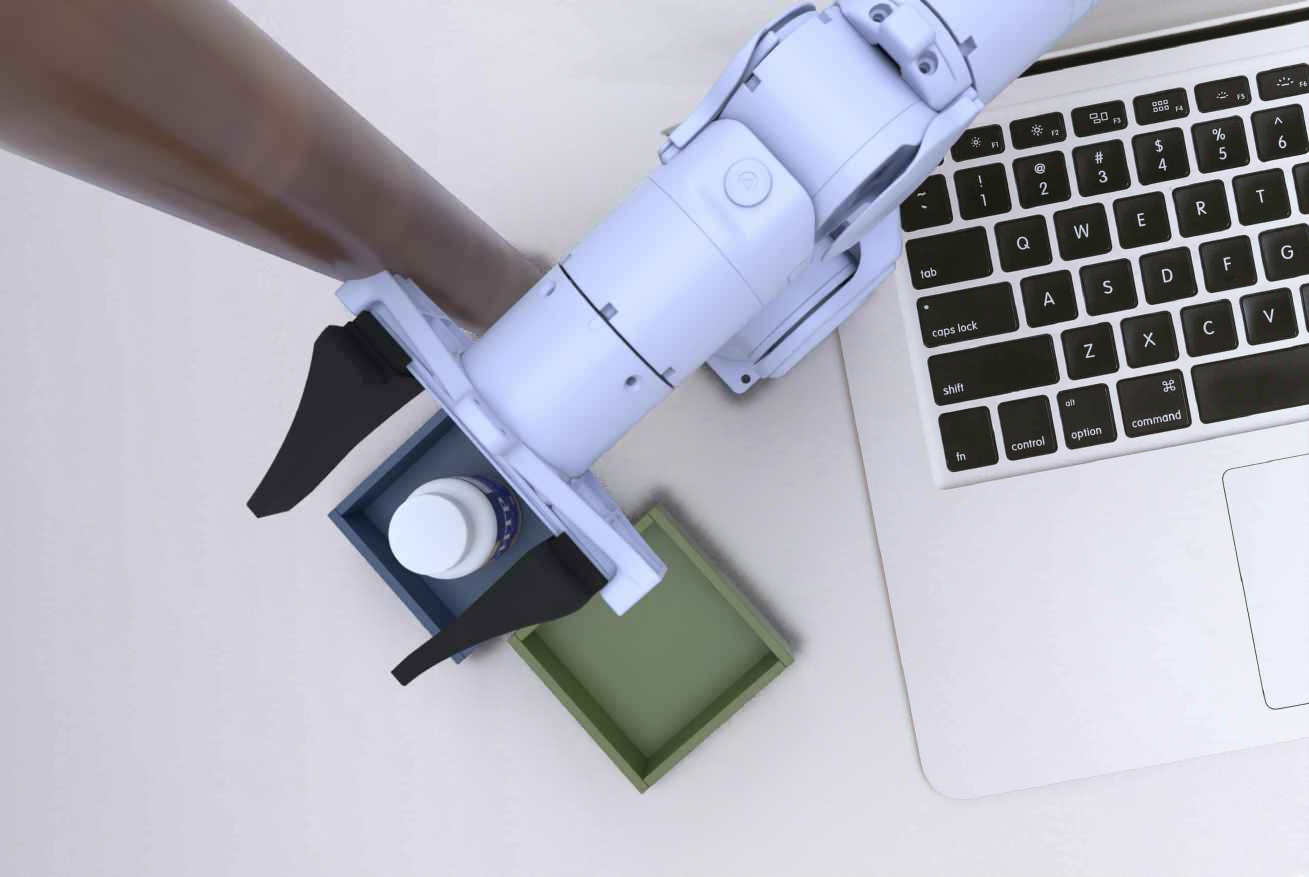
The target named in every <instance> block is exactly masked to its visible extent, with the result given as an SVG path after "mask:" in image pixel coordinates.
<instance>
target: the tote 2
mask: <svg viewBox="0 0 1309 877" xmlns="http://www.w3.org/2000/svg"><path fill="white" fill-rule="evenodd" d="M632 526H633V527H634V528H635V529H636V531H637V532H638V533H639V534H640V536H641V537H642V538H643V540H644V541H645V542H646V543H647V544H648V546H649V547H650V548H651V549H652V550H653V552H654V553H655V554H656V555H657V556H658V557H659V558H660V560H661V561H662V562H663V563H664V564H665V565H666V566H667V571H666V573H665V575H664V577H663V578H662V580H661V581H660V582H659V583H658V584H657V585H656V586H655V587H654V588H652V589H651V590H650V591H649V592H648V593H647V594H646V595H644V596H643V597H642V598H641V599H640V600H639V601H638V602H636V603H635V604H634V605H633V606H632V607H631V608H630V609H629V610H627V611H626V612H625V613H624V614H623V615H622V616H618V615H617V614H616V613H615V612H614V610H613V609H612V608H611V607H610V606H609V605H608V604H607V603H606V601H605V600H604V599H603V598H602V597H601V595H600V590H599V591H598V592H597V593H596V594H595V595H594V596H593V597H592V598H591V599H590V600H589V601H588V603H587V604H585V605H584V606H583V607H582V608H581V609H580V610H578V611H577V612H575V613H572V614H570V615H567V616H565V617H562V618H559V619H557V620H554V621H549V622H545V623H540V624H536V625H533V626H529V627H525V628H522V629H518V630H515V631H514V632H513V634H512V635H511V636H510V637H508V638H507V640H506V642H507V643H508V644H509V646H510V647H511V648H512V649H513V650H514V651H515V652H516V653H517V655H518V656H519V658H521V659H522V660H523V661H524V662H525V664H526V665H527V666H528V667H529V668H530V669H531V671H532V672H533V673H534V674H535V675H536V676H537V677H538V678H539V680H540V681H541V682H542V683H543V684H544V685H545V686H546V688H547V689H548V690H549V691H550V692H551V693H552V694H553V695H554V696H555V698H556V699H557V700H558V701H559V703H561V705H562V706H563V707H564V708H565V709H566V710H567V711H568V713H569V714H570V715H571V716H572V717H573V718H574V719H575V720H576V722H577V723H578V724H579V725H580V726H581V727H582V729H583V730H584V731H585V732H586V734H588V735H589V736H590V738H591V739H592V741H594V742H595V743H596V744H597V745H598V747H599V748H600V749H601V750H602V751H603V752H604V754H605V755H606V756H607V757H608V758H609V760H611V762H612V763H613V764H614V765H615V766H616V767H617V769H619V771H620V772H621V774H623V776H625V778H626V779H627V780H628V781H629V782H630V783H631V784H632V786H634V788H635V789H636V790H637V791H638V793H639V794H641V795H643V794H645V793H646V792H647V791H648V790H649V789H650V788H651V787H652V786H654V785H655V784H656V783H657V782H658V781H659V780H660V779H662V778H663V777H664V776H665V775H666V774H667V773H669V772H670V770H672V769H673V768H674V767H675V766H677V765H678V764H679V763H680V762H681V761H682V760H684V759H685V758H686V757H687V756H688V755H689V754H691V753H692V752H693V751H694V750H695V749H696V748H698V747H699V746H700V745H701V744H702V743H703V742H705V740H706V739H707V738H708V737H710V736H711V735H712V734H713V733H714V732H716V731H717V730H718V729H719V728H721V726H722V725H724V724H725V723H726V722H727V721H728V720H729V719H731V717H733V716H734V715H735V714H737V712H739V711H740V709H742V708H743V707H744V706H745V705H746V704H748V703H749V702H750V701H751V700H752V699H753V698H754V697H756V696H757V695H758V694H759V693H760V692H762V690H763V689H765V688H766V687H767V686H768V685H769V684H770V683H772V682H773V681H774V680H775V679H776V678H777V677H778V676H780V675H781V674H782V673H783V672H784V671H786V669H787V668H789V667H790V666H791V665H792V664H793V663H794V662H795V658H794V657H795V656H794V654H793V650H792V646H791V644H790V643H789V642H788V641H787V639H785V637H784V636H783V635H782V634H781V633H780V632H779V631H778V630H777V628H776V627H775V626H774V625H773V624H772V622H770V620H769V619H768V618H767V617H766V616H765V615H764V614H763V613H762V611H760V609H759V608H758V607H757V606H756V605H755V604H754V603H753V602H752V601H751V600H750V598H749V597H748V596H747V595H746V594H745V593H744V592H743V591H742V590H741V588H739V586H738V585H737V584H736V582H734V581H733V579H731V577H730V576H729V575H728V574H727V572H725V571H724V570H723V568H722V567H721V566H720V565H719V564H718V563H717V562H716V561H715V560H714V559H713V557H712V556H711V554H709V553H708V552H707V550H705V548H704V547H703V546H702V545H701V544H700V543H699V541H697V539H696V538H695V537H694V536H693V535H692V534H691V533H690V532H689V531H688V530H687V529H686V527H685V526H684V525H683V524H682V523H681V522H680V521H679V519H677V517H676V515H674V514H673V513H672V511H670V510H669V508H668V507H667V506H666V505H665V504H664V503H663V502H662V501H658V502H657V503H656V504H655V505H654V506H652V508H651V509H649V511H647V512H646V513H645V514H644V515H643V516H642V517H641V518H639V519H638V520H637V521H636V522H635V523H634V524H632Z"/></svg>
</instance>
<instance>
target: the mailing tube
mask: <svg viewBox="0 0 1309 877" xmlns="http://www.w3.org/2000/svg"><path fill="white" fill-rule="evenodd" d="M0 150H2V151H5V152H8V153H10V154H12V155H15V156H18V157H20V158H22V159H25V160H28V161H31V162H33V163H36V164H38V165H40V166H43V167H46V168H48V169H51V170H53V171H56V172H59V173H61V174H64V175H66V176H68V177H72V178H73V179H75V180H76V179H77V180H79V181H82V182H84V183H87V184H90V185H92V186H93V187H94V186H95V187H98V188H100V189H102V190H105V191H108V192H110V193H113V194H115V195H118V196H121V197H122V198H126V199H128V200H130V201H133V202H135V203H139V204H141V205H143V206H146V207H149V208H150V209H154V210H156V211H158V212H162V213H164V214H166V215H169V216H172V217H174V218H176V219H179V220H181V221H185V222H187V223H190V224H192V225H195V226H196V227H200V228H203V229H205V230H207V231H211V232H213V233H215V234H218V235H221V236H223V237H226V238H228V239H231V240H233V241H236V242H238V243H240V244H243V245H247V246H249V247H251V248H254V249H256V250H259V251H262V252H265V253H267V254H269V255H272V256H274V257H277V258H280V259H282V260H284V261H287V262H290V263H293V264H294V265H298V266H300V267H303V268H305V269H307V270H310V271H313V272H315V273H317V274H321V275H323V276H326V277H328V278H331V279H334V280H335V281H338V282H341V283H343V284H344V283H345V282H346V281H347V280H359V279H364V278H368V277H371V276H374V275H376V274H378V273H380V272H382V271H384V270H388V271H389V272H390V274H391V275H392V276H394V275H395V274H399V275H401V276H402V277H403V278H404V280H406V279H408V278H410V279H411V280H412V281H413V282H414V283H415V284H416V285H417V286H418V287H419V288H420V289H421V290H422V291H423V292H424V293H425V294H426V295H427V296H428V297H429V298H430V299H431V300H432V301H433V302H434V303H435V304H436V305H437V306H438V307H439V308H440V309H441V310H442V311H443V312H444V313H445V314H446V315H447V316H448V317H449V318H450V319H451V320H452V321H453V322H454V323H455V324H456V325H457V326H458V327H459V328H460V329H461V330H463V331H464V330H465V331H467V332H470V333H472V334H475V335H476V336H477V335H478V336H480V337H481V336H482V335H483V334H484V333H486V332H487V331H488V330H489V329H490V328H491V327H492V326H493V325H494V324H495V323H496V322H497V321H498V320H499V319H500V318H501V317H502V316H503V315H504V314H505V313H506V312H507V311H508V310H509V309H510V308H512V307H513V306H514V305H515V304H516V303H517V302H518V301H519V300H520V299H521V298H522V297H523V296H524V295H525V294H526V293H527V292H528V291H529V290H530V289H531V288H532V287H533V286H534V285H536V284H537V283H538V282H539V281H540V280H541V279H542V278H543V277H544V276H545V275H546V273H544V271H542V270H541V269H540V268H539V267H538V266H536V264H534V263H533V262H532V261H531V260H530V259H528V258H527V257H526V256H525V255H524V254H523V253H521V252H520V251H519V250H518V249H517V248H516V247H515V246H513V245H512V244H511V243H510V242H509V241H508V240H507V239H506V238H504V237H503V236H502V235H500V234H499V233H498V232H497V231H496V230H495V229H494V228H493V227H491V226H490V225H489V224H488V223H487V222H486V221H484V219H482V218H481V217H480V216H478V215H477V214H476V213H475V212H474V211H473V210H472V209H470V208H469V207H468V206H467V205H466V204H465V203H464V202H462V201H461V199H459V198H458V197H456V195H454V193H452V192H451V191H450V190H448V189H447V187H445V186H444V185H443V184H442V183H441V182H439V181H438V180H437V179H435V177H433V175H431V174H430V173H429V172H428V171H427V170H425V169H424V168H423V167H422V166H421V165H420V164H418V163H417V162H416V161H415V160H414V159H412V158H411V157H410V156H409V155H408V154H407V153H405V151H403V150H402V148H400V147H399V146H398V145H397V144H395V143H394V142H393V141H392V140H391V139H389V138H388V137H387V136H386V135H385V134H383V133H382V131H380V130H379V128H377V127H376V126H375V125H373V124H372V123H371V122H370V121H369V120H367V119H366V118H365V117H364V116H363V115H362V114H360V112H358V110H356V109H355V108H354V107H352V106H351V105H350V104H349V103H348V102H347V101H346V100H345V99H343V98H342V97H341V96H340V95H339V94H337V93H336V92H335V91H334V90H332V89H331V88H330V87H329V86H328V85H327V84H326V83H324V81H323V80H321V79H320V78H319V77H318V76H317V75H316V74H314V73H313V72H312V71H310V70H309V68H307V67H306V66H305V65H304V64H302V63H301V62H300V61H299V60H298V59H297V58H296V57H295V56H293V55H292V54H291V53H290V52H289V51H287V50H286V48H284V47H283V46H282V45H281V44H280V43H278V42H277V41H276V40H275V39H274V38H273V37H271V35H269V34H268V33H267V32H266V31H265V30H264V29H263V28H261V27H260V26H259V25H258V24H256V23H255V21H253V20H252V19H251V18H249V17H248V16H247V15H246V14H245V13H244V12H243V11H241V10H240V9H239V8H238V7H237V6H235V5H234V3H232V2H231V1H229V0H0Z"/></svg>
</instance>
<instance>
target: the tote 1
mask: <svg viewBox="0 0 1309 877" xmlns="http://www.w3.org/2000/svg"><path fill="white" fill-rule="evenodd" d="M472 474H480V475H487V476H491V477H493V478H496V479H497V480H499V481H501V482H502V483H504V484H505V485H506V486H507V487H508V488H509V489H510V490H511V491H512V493H513V494H514V495H515V497H516V499H517V501H518V504H519V507H520V511H521V527H520V532H519V535H518V537H517V539H516V541H515V543H514V544H513V546H512V547H511V549H510V550H509V551H508V552H507V553H506V554H504V555H503V556H502V557H500V558H498V559H497V560H495V561H493V562H491V563H489V564H487V565H485V566H483V567H481V568H480V569H478V570H476V571H474V572H472V573H470V574H468V575H465V576H462V577H459V578H454V579H438V578H434V577H430V576H428V575H422V574H418V573H415V572H413V571H410V570H409V569H407V568H405V567H404V566H403V565H402V564H401V563H400V562H399V561H398V560H397V558H396V557H395V555H394V554H393V552H392V549H391V547H390V543H389V526H390V522H391V520H392V517H393V515H394V513H395V512H396V510H397V509H398V508H399V507H400V506H401V505H402V504H403V503H404V502H405V501H406V500H407V499H408V497H409V496H410V495H411V494H412V493H413V492H414V491H415V490H416V489H417V488H419V487H420V486H422V485H424V484H426V483H428V482H431V481H433V480H437V479H441V478H448V477H456V476H462V475H472ZM326 517H328V519H329V520H331V522H332V523H333V524H334V525H335V526H336V528H337V529H338V530H339V531H340V532H341V533H342V535H343V536H344V538H346V539H347V540H348V541H349V543H350V544H351V545H352V546H353V547H354V548H355V550H357V552H358V553H359V554H360V555H361V556H362V557H363V559H364V560H365V561H366V562H367V563H368V564H369V566H370V567H371V568H372V569H373V570H374V571H375V573H377V574H378V576H379V577H380V578H381V579H382V580H383V582H385V584H386V585H387V586H388V587H389V588H390V590H391V591H392V592H393V593H394V594H395V596H397V597H398V599H399V600H400V601H401V602H402V604H404V605H405V607H406V608H407V609H408V610H409V611H410V613H411V614H412V615H413V616H414V617H415V619H416V620H418V622H419V623H420V624H421V625H422V626H423V627H424V628H425V630H426V631H427V632H428V633H429V634H430V635H431V636H432V637H433V636H434V635H436V634H437V633H438V632H440V631H441V630H442V629H444V628H445V627H446V626H448V625H449V624H450V623H452V622H453V621H454V620H455V619H456V618H458V617H459V616H460V615H461V614H462V613H463V612H464V611H465V610H466V609H467V608H469V607H470V606H471V605H472V604H473V603H474V602H475V601H476V600H477V599H478V598H479V597H480V596H481V595H482V594H484V593H485V592H486V591H487V590H488V589H489V588H490V587H491V586H492V585H493V584H494V583H495V582H496V581H497V580H498V579H499V578H500V577H501V576H503V575H504V574H505V573H506V572H507V571H508V570H509V569H510V568H511V567H512V566H513V565H514V564H515V563H516V562H517V561H518V560H519V559H520V558H521V557H522V556H523V555H524V554H526V553H527V552H528V551H529V550H530V549H532V548H533V547H535V546H536V545H538V544H539V543H541V542H542V541H544V540H546V539H548V538H549V537H551V536H552V535H554V534H553V533H552V531H551V530H550V529H549V528H548V527H547V526H546V525H545V524H544V522H543V521H542V520H541V519H540V518H539V517H538V516H537V514H536V513H535V512H534V511H533V510H532V509H531V508H530V507H529V505H528V504H527V503H526V502H525V501H524V500H523V499H522V497H521V496H520V495H519V494H518V493H517V492H516V491H515V490H514V488H513V487H512V486H511V485H510V484H509V483H508V482H507V481H506V479H505V478H504V477H503V476H502V475H501V474H500V473H499V471H498V470H497V469H496V468H495V467H494V466H493V465H492V464H491V462H490V461H489V460H488V459H487V458H486V457H485V456H484V455H483V453H482V452H481V451H480V450H479V449H478V448H477V447H476V445H475V444H474V443H473V442H472V441H471V440H470V439H469V438H468V436H467V435H466V434H465V433H464V432H463V431H462V430H461V429H460V427H459V426H458V425H457V424H456V423H455V422H454V421H453V419H452V418H451V417H450V416H449V415H448V414H447V413H446V412H445V410H444V409H443V408H442V407H441V408H440V409H439V410H438V411H437V412H436V413H435V414H433V415H432V416H430V418H429V419H428V420H427V421H426V422H424V424H423V425H422V426H420V427H419V428H418V429H417V430H416V431H415V432H414V433H413V434H412V435H411V436H410V437H409V438H408V439H407V440H405V442H403V443H402V444H400V446H399V447H398V448H397V449H396V450H395V451H394V452H393V453H391V455H390V456H388V457H387V458H386V459H385V460H384V461H383V462H382V463H381V464H380V465H379V466H378V467H377V468H376V469H375V470H374V471H373V472H371V473H370V474H369V475H368V476H367V477H366V478H364V480H363V481H362V482H360V483H359V485H358V486H356V487H355V488H354V489H353V490H352V491H351V492H350V493H349V494H348V495H347V496H346V497H345V498H344V499H342V500H341V501H340V502H339V503H338V504H337V505H336V506H335V507H334V508H332V510H330V512H329V513H327V515H326ZM485 642H486V641H484V642H482V643H479V644H477V645H475V646H472V647H470V648H468V649H466V650H464V651H461V652H459V653H457V654H455V655H453V656H451V657H450V659H452V661H453V662H454V663H455V664H456V665H457V666H458V665H460V664H461V663H462V662H463V661H465V659H467V658H468V657H469V656H470V655H471V654H473V653H474V652H475V651H476V650H477V649H478V648H479V647H481V645H483V644H484V643H485Z"/></svg>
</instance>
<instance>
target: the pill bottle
mask: <svg viewBox="0 0 1309 877" xmlns="http://www.w3.org/2000/svg"><path fill="white" fill-rule="evenodd" d="M520 527H521V511H520V507H519V504H518V501H517V499H516V497H515V495H514V494H513V493H512V491H511V490H510V489H509V488H508V487H507V486H506V485H505V484H504V483H502V482H501V481H499V480H497V479H496V478H493V477H491V476H487V475H480V474H472V475H462V476H456V477H448V478H441V479H437V480H433V481H431V482H428V483H426V484H424V485H422V486H420V487H419V488H417V489H416V490H415V491H414V492H413V493H412V494H411V495H410V496H409V497H408V499H407V500H406V501H405V502H404V503H403V504H402V505H401V506H400V507H399V508H398V509H397V510H396V512H395V513H394V515H393V517H392V520H391V522H390V526H389V543H390V547H391V549H392V552H393V554H394V555H395V557H396V558H397V560H398V561H399V562H400V563H401V564H402V565H403V566H404V567H405V568H407V569H409V570H410V571H413V572H415V573H418V574H422V575H428V576H430V577H434V578H438V579H454V578H459V577H462V576H465V575H468V574H470V573H472V572H474V571H476V570H478V569H480V568H481V567H483V566H485V565H487V564H489V563H491V562H493V561H495V560H497V559H498V558H500V557H502V556H503V555H504V554H506V553H507V552H508V551H509V550H510V549H511V547H512V546H513V544H514V543H515V541H516V539H517V537H518V535H519V532H520Z"/></svg>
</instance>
